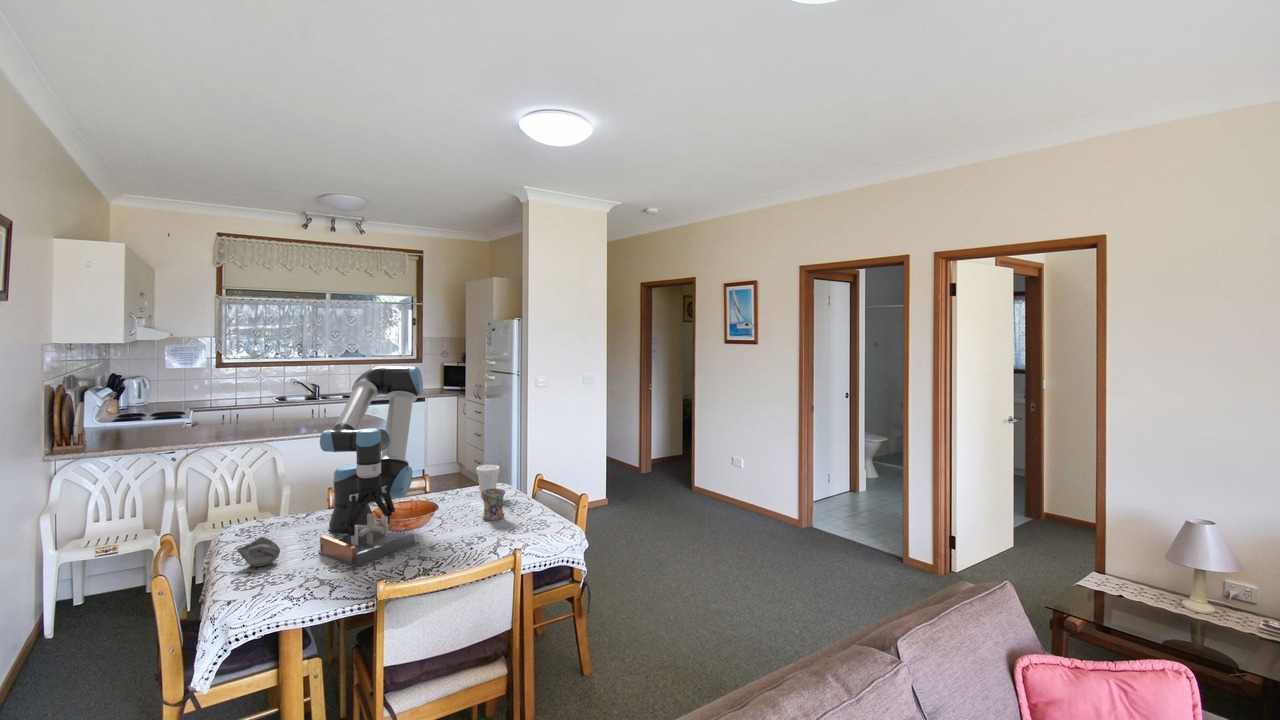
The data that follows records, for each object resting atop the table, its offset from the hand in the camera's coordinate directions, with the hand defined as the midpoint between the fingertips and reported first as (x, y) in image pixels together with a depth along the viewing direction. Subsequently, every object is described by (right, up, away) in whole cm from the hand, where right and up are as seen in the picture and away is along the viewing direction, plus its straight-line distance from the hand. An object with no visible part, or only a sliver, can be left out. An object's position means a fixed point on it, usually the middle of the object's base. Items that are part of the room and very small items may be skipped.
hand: (370, 539), depth 200 cm
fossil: (-29, -4, -14) cm, 32 cm away
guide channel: (0, -3, 0) cm, 3 cm away
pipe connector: (0, -2, 0) cm, 2 cm away
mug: (+33, -2, +34) cm, 47 cm away
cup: (+25, 0, +60) cm, 65 cm away
